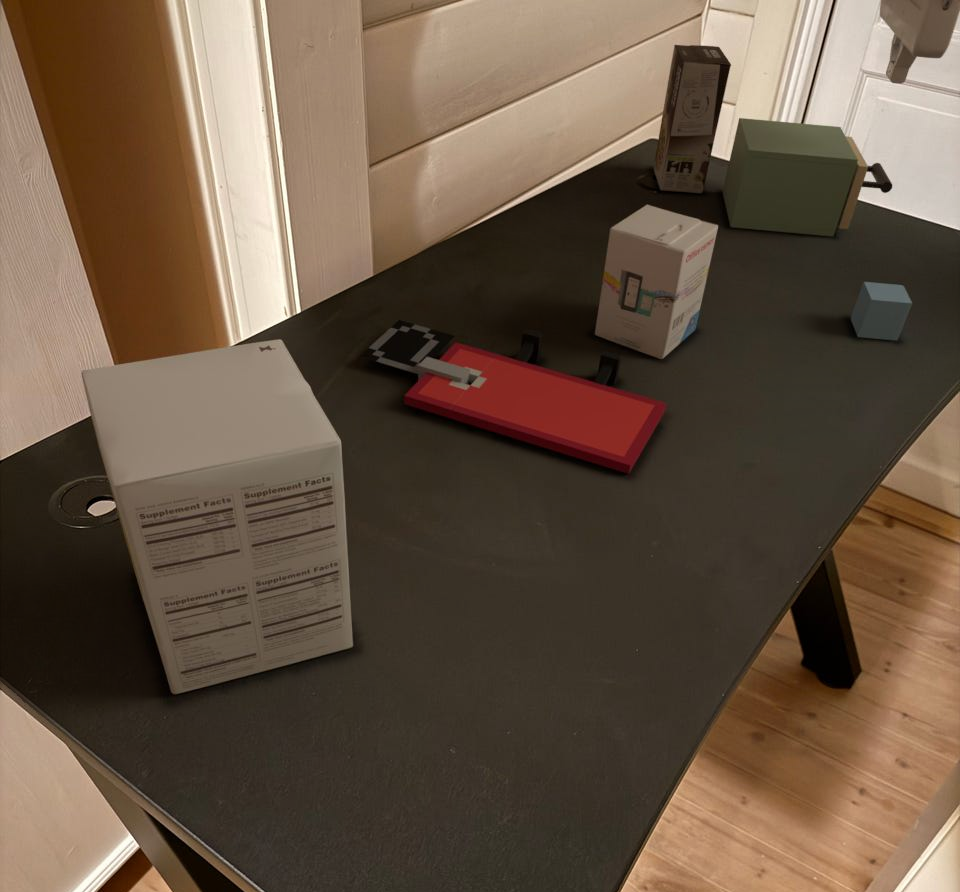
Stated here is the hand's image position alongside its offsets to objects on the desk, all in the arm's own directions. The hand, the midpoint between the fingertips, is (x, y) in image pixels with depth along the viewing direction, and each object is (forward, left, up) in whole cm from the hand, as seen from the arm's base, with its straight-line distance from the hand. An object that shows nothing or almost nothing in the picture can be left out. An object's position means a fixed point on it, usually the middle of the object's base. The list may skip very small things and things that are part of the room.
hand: (894, 80), depth 116 cm
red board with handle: (+43, +53, -17) cm, 70 cm away
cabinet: (+10, 0, -17) cm, 20 cm away
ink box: (+29, +38, -17) cm, 51 cm away
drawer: (+5, 0, -16) cm, 17 cm away
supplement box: (+60, +87, -17) cm, 107 cm away
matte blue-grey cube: (+3, +32, -17) cm, 36 cm away
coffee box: (+23, -9, -17) cm, 30 cm away
